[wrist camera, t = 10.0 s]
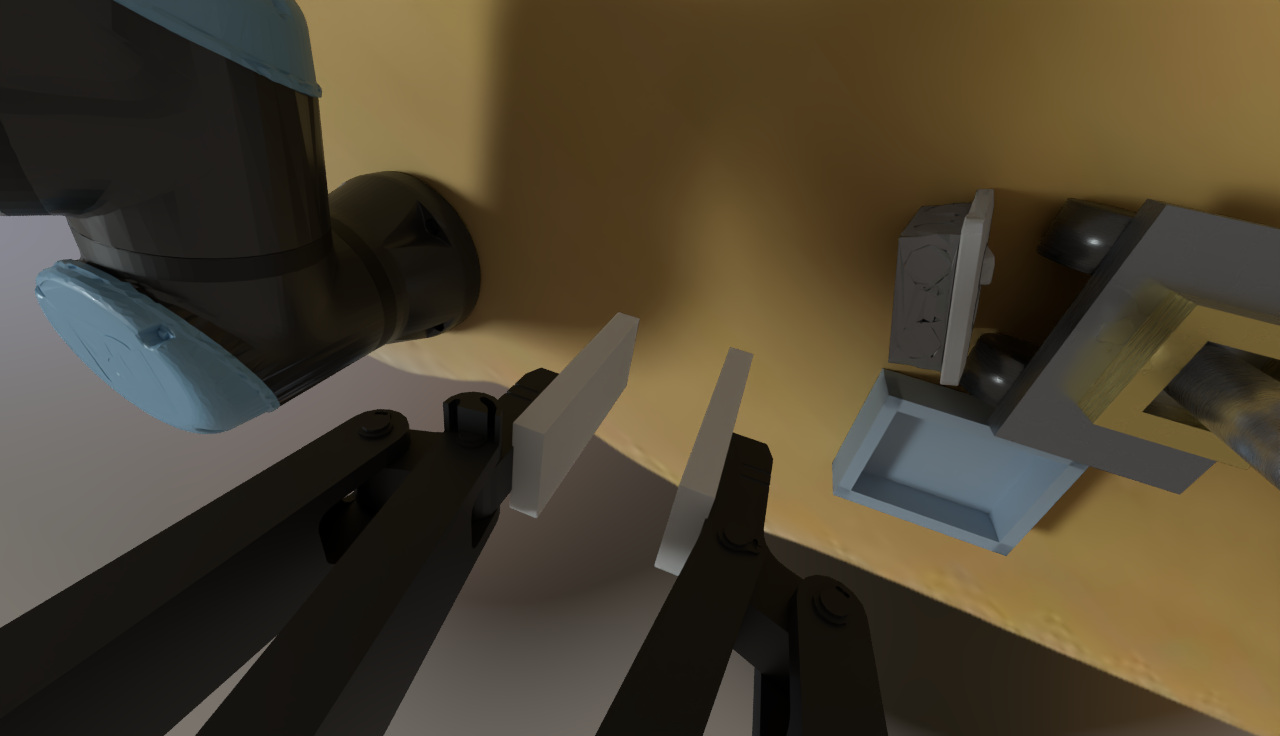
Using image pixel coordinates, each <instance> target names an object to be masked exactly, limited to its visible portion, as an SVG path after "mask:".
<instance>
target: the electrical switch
mask: <svg viewBox="0 0 1280 736" xmlns="http://www.w3.org/2000/svg"><path fill="white" fill-rule="evenodd" d="M993 209H994V189H978V190H977V191H976V195H975V198H974V200H973V202H972V203H954V204H948V205H943V206H922V207H921V208H920V209H919V211H918V212H917V213H916V215H915V216H914V217H913V219H912V220H911V221H910V223H909V224H908V225H907V227H906V228H905V229H904V231H903V232H902V233H901V235H900V236H917V237H899V244H898V256H897V267H896V279H895V291H894V302H893V314H892V325H891V337H890V349H889V360H888V362H889V363H897V364H906V365H912V366H915V367H918V368H922V369H931V370H935V371H939V372H941V378H940V384H942V385H956V386H958V384H959V381H960V378H961V376H962V373H963V370H964V367H965V364H966V359H967V354H968V349H969V344H970V339H971V335H972V330H973V325H974V322H975V317H976V313H977V308H978V302H979V296H980V290H981V285H989V284H990V283H991V280H992V276H993V271H994V266H995V257H994V255H993V253H992V252H991V250H990V249H989V247H988V246H987V244H988V238H989V232H990V226H991V220H992V215H993ZM906 261H907V262H906ZM905 263H906V264H905ZM904 264H905V267H904ZM903 330H904V331H903Z"/></svg>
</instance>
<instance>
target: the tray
mask: <svg viewBox="0 0 1280 736" xmlns="http://www.w3.org/2000/svg"><path fill="white" fill-rule="evenodd" d="M995 409H996V408H995V407H993V406H990V405H988V404H987V403H985V402H983V401H981V400H979V399H978V398H976V397H975V396H973V395H969V394H966V393H963V392H959V391H956V390H953V389H950V388H946V387H943V386H940V385H936V384H933V383H930V382H926V381H923V380H920V379H917V378H913V377H910V376H907V375H903V374H900V373H897V372H893V371H890V370H887V369H884V368H883V369H882V371H881V373H880V375H879V376H878V378H877V380H876V382H875V384H874V386H873V388H872V390H871V391H870V393H869V395H868V397H867V399H866V401H865V403H864V405H863V407H862V408H861V410H860V412H859V414H858V416H857V418H856V420H855V422H854V423H853V425H852V427H851V429H850V431H849V433H848V435H847V437H846V438H845V440H844V442H843V444H842V446H841V448H840V450H839V452H838V454H837V455H836V457H835V459H834V461H833V463H832V471H833V495H836V496H838V497H841V498H844V499H847V500H850V501H853V502H855V503H858V504H861V505H864V506H867V507H869V508H872V509H875V510H878V511H881V512H884V513H886V514H889V515H892V516H895V517H898V518H900V519H903V520H906V521H909V522H912V523H915V524H917V525H920V526H923V527H926V528H929V529H931V530H934V531H937V532H940V533H943V534H945V535H948V536H951V537H954V538H957V539H960V540H962V541H965V542H968V543H971V544H974V545H976V546H979V547H982V548H985V549H988V550H991V551H993V552H996V553H999V554H1002V555H1005V556H1007V555H1008V553H1009V552H1010V551H1011V550H1012V549H1013V548H1014V547H1015V546H1016V545H1017V544H1018V543H1019V542H1020V541H1021V539H1022V538H1023V537H1024V536H1025V535H1026V534H1027V533H1028V532H1029V531H1030V530H1031V529H1032V528H1033V527H1034V525H1035V524H1036V523H1037V522H1038V521H1039V520H1040V519H1041V518H1042V517H1043V516H1044V515H1045V514H1046V512H1047V511H1048V510H1049V509H1050V508H1051V507H1052V506H1053V505H1054V504H1055V503H1056V502H1057V501H1058V500H1059V498H1060V497H1061V496H1062V495H1063V494H1064V493H1065V492H1066V491H1067V490H1068V489H1069V488H1070V487H1071V486H1072V484H1073V483H1074V482H1075V481H1076V480H1077V479H1078V478H1079V477H1080V476H1081V475H1082V474H1083V473H1084V472H1085V470H1086V469H1087V468H1088V467H1089V466H1088V465H1085V464H1081V463H1078V462H1075V461H1072V460H1069V459H1065V458H1062V457H1059V456H1056V455H1053V454H1050V453H1046V452H1043V451H1040V450H1037V449H1034V448H1031V447H1027V446H1024V445H1021V444H1018V443H1015V442H1011V441H1008V440H1005V439H1002V438H999V437H996V436H994V435H993V433H992V431H991V429H990V427H989V425H988V423H987V420H988V419H989V418H990V416H991V415H992V414H993V412H994V411H995Z"/></svg>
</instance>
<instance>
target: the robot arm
mask: <svg viewBox="0 0 1280 736" xmlns="http://www.w3.org/2000/svg"><path fill="white" fill-rule="evenodd" d="M318 97H319V98H321V97H322V89H321V87H320V86H319V85H318V84H317V82H316V76H315V70H314V64H313V57H312V51H311V44H310V38H309V31H308V26H307V22H306V19H305V17H304V14H303V13H302V11H301V9H300V7H299V6H298V4H297V3H296V1H295V0H0V216H21V215H22V216H24V215H25V216H27V215H63V216H66V218H67V221H68V224H69V226H70V229H71V231H72V234H73V236H74V238H75V241H76V243H77V245H78V247H79V250H80V254H81V258H80V260H72V259H68V260H60V261H57V262H56V263H55V264H54V266H52V267H50V268H47V269H45V270H43V271H41V272H40V273H39V274H38V276H37V278H36V284H37V286H36V289H35V294H36V297H37V300H38V302H39V305H40V306H41V308H42V310H43V312H44V313H45V315H46V317H47V319H48V320H49V322H50V323H51V325H52V326H53V327H54V329H55V330H56V331H57V333H58V334H59V335H60V337H61V338H62V339H63V340H64V341H65V342H66V344H67V345H68V346H69V347H70V348H71V349H72V350H73V351H74V353H75V354H76V355H77V356H78V357H79V358H80V359H81V360H82V361H83V362H84V363H85V364H86V365H87V366H88V367H89V368H90V369H91V370H92V371H93V372H94V373H95V374H96V375H98V376H99V377H100V378H101V379H102V380H103V381H105V382H106V383H107V384H108V385H109V386H110V387H112V388H113V389H114V390H115V391H117V392H118V393H119V394H120V395H122V396H123V397H124V398H126V399H127V400H128V401H130V402H131V403H133V404H134V405H136V406H137V407H139V408H140V409H141V410H143V411H145V412H146V413H148V414H150V415H151V416H153V417H155V418H157V419H159V420H160V421H162V422H164V423H167V424H169V425H171V426H173V427H176V428H179V429H181V430H185V431H189V432H193V433H200V434H215V433H221V432H224V431H228V430H231V429H233V428H235V427H237V426H239V425H241V424H243V423H245V422H247V421H249V420H251V419H253V418H255V417H257V416H259V415H261V414H263V413H265V412H272V411H274V410H276V409H278V407H280V406H281V405H283V404H285V403H286V402H288V401H289V400H291V399H293V398H295V397H296V396H298V395H300V394H301V393H303V392H305V391H307V390H308V389H310V388H312V387H313V386H315V385H317V384H318V383H320V382H322V381H323V380H325V379H327V378H328V377H330V376H332V375H334V374H335V373H336V372H338V371H340V370H342V369H343V368H345V367H347V366H349V365H350V364H352V363H354V362H355V361H357V360H359V359H360V358H362V357H364V356H366V355H367V354H369V353H371V352H372V351H374V350H376V349H378V348H379V347H381V346H383V345H385V344H391V343H397V342H404V341H410V340H417V339H423V338H429V337H434V336H437V335H440V334H442V333H444V332H446V331H448V330H450V329H451V328H453V327H454V326H456V325H458V324H459V323H461V322H462V321H463V320H465V319H466V318H467V317H468V315H469V314H470V313H471V311H472V310H473V308H474V306H475V304H476V301H477V298H478V295H479V289H480V268H479V262H478V257H477V253H476V250H475V247H474V244H473V241H472V239H471V237H470V235H469V233H468V231H467V229H466V227H465V225H464V223H463V222H462V220H461V219H460V217H459V216H458V214H457V213H456V212H455V210H454V209H453V208H452V207H451V205H450V204H449V203H448V202H447V201H446V200H445V199H444V198H443V197H442V196H441V195H440V194H439V193H438V192H436V191H435V190H434V189H433V188H431V187H430V186H428V185H427V184H425V183H424V182H422V181H420V180H418V179H416V178H414V177H412V176H410V175H407V174H403V173H399V172H393V171H383V172H377V173H371V174H365V175H360V176H357V177H354V178H352V179H350V180H348V181H346V182H344V183H343V184H342V185H340V186H339V187H338V188H337V189H335V190H334V191H332V192H331V193H329V194H328V190H327V180H326V170H325V160H324V150H323V140H322V130H321V120H320V110H319V100H318ZM638 324H639V318H636V317H633V316H630V315H627V314H623V313H620V312H618V313H617V314H616V315H615V316H614V317H613V318H612V319H611V320H610V321H609V322H608V323H607V324H606V325H605V326H604V327H603V329H602V330H601V331H600V332H599V333H598V334H597V335H596V336H595V337H594V338H593V339H592V340H591V341H590V342H589V343H588V344H587V345H586V346H585V347H584V349H583V350H582V351H581V352H580V353H579V354H578V355H577V356H576V357H575V358H574V359H573V360H572V361H571V362H570V363H569V364H568V365H567V366H566V368H565V369H564V370H563V371H562V372H561V373H560V374H558V373H555V372H552V371H549V370H547V369H544V368H539V369H536V370H534V371H532V372H529V373H527V374H525V375H524V376H523V377H522V378H521V379H520V380H519V381H518V382H516V383H515V386H514V385H513V386H512V387H511V388H510V389H509V390H508V391H507V393H505V394H504V395H503V396H501V397H500V398H499V399H498V400H497V399H496V398H495V397H493V396H491V395H488V394H485V393H480V392H466V393H460V394H457V395H454V396H451V397H450V398H448V399H447V400H446V401H445V402H443V411H444V429H445V431H444V432H442V433H441V432H428V431H419V430H410V429H409V424H408V421H407V418H406V417H405V416H403V415H402V414H401V413H399V412H396V411H393V410H384V409H377V410H372V411H367V412H363V413H361V414H359V415H357V416H355V417H353V418H351V419H349V420H348V421H346V422H344V423H343V424H341V425H339V426H338V427H336V428H334V429H333V430H331V431H329V432H327V433H326V434H324V435H322V436H321V437H319V438H317V439H316V440H314V441H313V442H311V443H309V444H307V445H306V446H304V447H302V448H301V449H299V450H297V451H296V452H294V453H292V454H291V455H289V456H287V457H286V458H284V459H282V460H281V461H279V462H277V463H276V464H274V465H272V466H271V467H269V468H267V469H266V470H264V471H262V472H261V473H259V474H257V475H256V476H254V477H252V478H251V479H249V480H247V481H245V482H244V483H242V484H240V485H239V486H237V487H235V488H234V489H232V490H230V491H229V492H227V493H225V494H224V495H222V496H221V497H219V498H217V499H215V500H214V501H212V502H210V503H209V504H207V505H206V506H204V507H202V508H200V509H199V510H197V511H195V512H194V513H192V514H191V515H189V516H187V517H185V518H184V519H182V520H180V521H179V522H177V523H175V524H174V525H172V526H170V527H168V528H167V529H165V530H163V531H162V532H160V533H159V534H157V535H155V536H153V537H152V538H150V539H148V540H147V541H145V542H143V543H142V544H140V545H138V546H137V547H135V548H133V549H132V550H130V551H128V552H127V553H125V554H123V555H122V556H120V557H118V558H117V559H115V560H113V561H112V562H110V563H108V564H107V565H105V566H103V567H102V568H100V569H98V570H97V571H95V572H93V573H92V574H90V575H88V576H86V577H85V578H83V579H81V580H80V581H78V582H76V583H75V584H73V585H72V586H70V587H68V588H67V589H65V590H63V591H61V592H60V593H58V594H56V595H55V596H53V597H51V598H50V599H48V600H46V601H45V602H43V603H42V604H40V605H38V606H36V607H35V608H33V609H31V610H30V611H28V612H26V613H25V614H23V615H21V616H20V617H18V618H16V619H15V620H13V621H11V622H10V623H8V624H6V625H4V626H3V627H1V628H0V736H164V735H165V734H166V733H167V732H168V731H170V730H171V729H172V728H173V727H174V726H175V725H176V724H178V722H180V721H181V720H182V719H183V718H184V717H185V716H186V715H188V714H189V713H190V712H191V711H192V710H193V709H194V708H195V707H196V706H198V705H199V704H200V703H201V702H202V701H203V700H204V699H206V698H207V697H208V696H209V695H210V694H211V693H212V692H214V691H215V690H216V689H217V688H218V687H219V686H220V685H221V684H222V683H224V682H225V681H226V680H227V679H228V678H229V677H230V676H232V675H233V674H234V673H235V672H236V671H237V670H238V669H239V668H241V667H242V666H243V665H244V664H245V663H246V662H247V661H248V660H250V659H251V658H252V657H253V656H254V655H255V654H256V653H257V652H259V651H260V650H261V649H262V648H263V647H264V646H265V645H267V644H268V643H269V642H270V641H271V640H272V639H273V638H274V637H276V638H275V639H274V640H273V641H272V642H271V644H270V645H269V646H268V647H267V649H266V650H265V651H264V652H263V654H262V655H261V656H260V657H259V658H258V660H257V661H256V662H255V663H254V664H253V666H252V667H251V668H250V669H249V671H248V672H247V673H246V674H245V675H244V677H243V678H242V679H241V680H240V682H239V683H238V684H237V685H236V686H235V688H234V689H233V690H232V691H231V693H230V694H229V695H228V696H227V697H226V699H225V700H224V701H223V702H222V704H221V705H220V706H219V707H218V709H217V710H216V711H215V712H214V713H213V715H212V716H211V717H210V718H209V719H208V721H207V722H206V723H205V724H204V726H203V727H202V728H201V729H200V730H199V732H198V733H197V734H196V736H383V735H384V733H385V731H386V730H387V728H388V726H389V724H390V722H391V720H392V718H393V717H394V715H395V713H396V711H397V709H398V707H399V705H400V703H401V702H402V700H403V698H404V696H405V694H406V692H407V690H408V688H409V686H410V684H411V683H412V681H413V679H414V677H415V675H416V673H417V671H418V670H419V667H420V666H421V664H422V662H423V660H424V658H425V656H426V655H427V653H428V651H429V649H430V647H431V645H432V643H433V641H434V640H435V638H436V636H437V634H438V632H439V630H440V628H441V626H442V625H443V623H444V621H445V619H446V617H447V615H448V613H449V611H450V609H451V608H452V606H453V603H454V602H455V600H456V598H457V596H458V594H459V593H460V591H461V589H462V587H463V585H464V583H465V581H466V579H467V577H468V576H469V574H470V572H471V570H472V568H473V566H474V564H475V563H476V561H477V558H478V557H479V555H480V553H481V551H482V549H483V547H484V546H485V544H486V542H487V540H488V538H489V536H490V534H491V532H492V531H493V529H494V527H495V525H496V523H497V521H498V518H499V514H500V504H501V503H502V501H503V500H504V499H505V498H506V497H507V495H508V494H509V493H510V504H509V507H510V508H513V509H515V510H518V511H520V512H522V513H525V514H527V515H530V516H532V517H535V518H537V517H538V516H539V514H540V513H541V511H542V510H543V508H544V507H545V505H546V503H547V502H548V501H549V499H550V498H551V496H552V495H553V493H554V492H555V490H556V489H557V487H558V486H559V484H560V483H561V482H562V480H563V479H564V477H565V476H566V474H567V473H568V471H569V470H570V468H571V467H572V465H573V464H574V462H575V461H576V460H577V458H578V457H579V455H580V454H581V452H582V451H583V449H584V448H585V446H586V445H587V443H588V442H589V440H590V439H591V437H592V436H593V434H594V433H595V431H596V430H597V429H598V427H599V426H600V424H601V423H602V421H603V420H604V418H605V417H606V415H607V414H608V412H609V411H610V409H611V408H612V406H613V405H614V403H615V402H616V401H617V399H618V398H619V396H620V395H621V393H622V392H623V390H624V389H625V387H626V386H627V381H628V375H629V370H630V365H631V360H632V355H633V350H634V345H635V340H636V335H637V329H638ZM752 358H753V354H752V353H748V352H745V351H742V350H739V349H735V348H732V347H730V349H729V352H728V354H727V357H726V360H725V362H724V365H723V368H722V371H721V373H720V376H719V379H718V381H717V384H716V387H715V390H714V392H713V395H712V398H711V400H710V403H709V406H708V409H707V411H706V414H705V417H704V419H703V422H702V425H701V428H700V430H699V433H698V436H697V438H696V441H695V444H694V447H693V449H692V452H691V455H690V457H689V460H688V463H687V466H686V468H685V471H684V474H683V476H682V479H681V482H680V485H679V488H678V491H677V494H676V497H675V501H674V504H673V507H672V510H671V514H670V517H669V520H668V523H667V527H666V530H665V533H664V536H663V539H662V543H661V546H660V549H659V552H658V556H657V559H656V562H655V567H657V568H660V569H662V570H664V571H667V572H669V573H672V574H674V575H677V576H678V578H677V580H676V582H675V583H674V585H673V588H672V590H671V591H670V593H669V595H668V597H667V599H666V601H665V603H664V605H663V606H662V608H661V611H660V612H659V614H658V616H657V618H656V620H655V622H654V624H653V626H652V628H651V630H650V632H649V633H648V635H647V637H646V639H645V641H644V643H643V645H642V647H641V649H640V651H639V652H638V654H637V656H636V658H635V660H634V662H633V664H632V666H631V668H630V670H629V672H628V674H627V675H626V677H625V679H624V681H623V683H622V685H621V687H620V689H619V691H618V693H617V695H616V697H615V699H614V701H613V702H612V704H611V706H610V708H609V710H608V712H607V714H606V716H605V718H604V720H603V722H602V723H601V725H600V727H599V729H598V731H597V733H596V735H595V736H703V733H704V730H705V727H706V724H707V722H708V719H709V716H710V713H711V710H712V707H713V704H714V701H715V699H716V696H717V693H718V690H719V687H720V684H721V681H722V678H723V675H724V673H725V670H726V667H727V664H728V661H729V658H730V655H731V653H732V650H733V649H734V650H735V651H736V652H737V653H738V654H740V655H741V656H742V657H743V658H744V659H746V660H747V661H748V662H749V663H750V664H752V665H753V666H754V667H755V670H754V671H755V672H754V673H755V674H754V700H753V701H754V702H753V728H752V729H753V730H752V736H888V732H887V727H886V721H885V716H884V709H883V704H882V698H881V693H880V687H879V681H878V675H877V669H876V665H875V658H874V653H873V647H872V641H871V635H870V629H869V624H868V619H867V615H866V613H865V610H864V607H863V605H862V603H861V602H860V601H859V599H858V598H857V597H856V595H855V594H854V593H853V592H852V591H851V590H850V589H848V588H847V587H846V586H845V585H844V584H842V583H841V582H839V581H836V580H835V579H833V578H830V577H827V576H821V575H813V576H809V577H806V578H805V579H804V580H803V579H802V578H800V577H799V576H798V575H796V574H795V573H793V572H792V571H790V570H789V569H787V568H786V567H785V566H784V565H783V564H781V563H780V562H779V561H778V560H777V559H776V558H775V557H774V556H773V554H772V553H771V552H770V550H769V548H768V546H767V545H766V542H765V538H764V522H765V515H766V508H767V500H768V493H769V485H770V478H771V476H770V475H771V471H772V464H773V458H772V455H771V453H770V450H769V448H768V445H767V444H765V443H762V442H759V441H756V440H753V439H750V438H747V437H744V436H741V435H739V434H736V433H733V429H734V425H735V422H736V418H737V414H738V410H739V407H740V403H741V399H742V396H743V392H744V388H745V384H746V381H747V377H748V373H749V369H750V366H751V362H752ZM352 491H354V492H353V493H352V494H350V495H349V496H347V495H348V494H349V493H351V492H352ZM346 496H347V497H346ZM344 497H345V498H344Z"/></svg>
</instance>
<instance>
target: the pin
mask: <svg viewBox="0 0 1280 736" xmlns="http://www.w3.org/2000/svg"><path fill="white" fill-rule="evenodd" d="M1163 391H1165V392H1166V393H1167V394H1168V395H1169V396H1170V397H1172V398H1173V399H1174V400H1175V401H1176V402H1177V403H1179V404H1180V405H1181V406H1182V407H1183V408H1184V409H1186V410H1187V411H1188V412H1189V413H1190V414H1191V415H1192V416H1194V417H1195V418H1196V419H1197V420H1198V421H1199V422H1201V423H1202V424H1203V425H1204V426H1205V427H1206V428H1208V429H1209V430H1210V431H1211V432H1212V433H1213V434H1215V435H1216V436H1217V437H1218V438H1219V439H1220V440H1222V441H1223V442H1224V443H1225V444H1226V445H1227V446H1228V447H1230V448H1231V449H1232V450H1233V451H1234V452H1235V453H1237V454H1238V455H1239V456H1240V457H1241V458H1242V459H1244V460H1245V461H1246V462H1247V463H1248V464H1249V465H1251V466H1252V467H1253V468H1254V469H1255V470H1256V471H1258V472H1259V473H1260V474H1261V475H1262V476H1263V477H1265V478H1266V479H1267V480H1268V481H1269V482H1270V483H1271V484H1273V485H1274V486H1275V487H1276V488H1277V489H1278V490H1280V382H1278V381H1277V380H1275V379H1273V378H1272V377H1270V376H1269V375H1267V374H1265V373H1264V372H1262V371H1261V370H1259V369H1257V368H1256V367H1254V366H1253V365H1251V364H1249V363H1248V362H1246V361H1245V360H1243V359H1241V358H1240V357H1238V356H1236V355H1235V354H1233V353H1232V352H1230V351H1228V350H1226V349H1224V348H1221V347H1217V346H1203V347H1202V348H1201V349H1200V350H1199V351H1198V352H1197V353H1196V354H1195V355H1194V357H1193V358H1192V359H1191V360H1190V361H1189V362H1188V363H1187V364H1186V365H1185V366H1184V367H1183V368H1182V369H1181V371H1180V372H1179V373H1178V374H1177V375H1176V376H1175V377H1174V378H1173V379H1172V380H1171V381H1170V382H1169V383H1168V384H1167V386H1166V387H1165V388H1164V389H1163Z"/></svg>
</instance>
